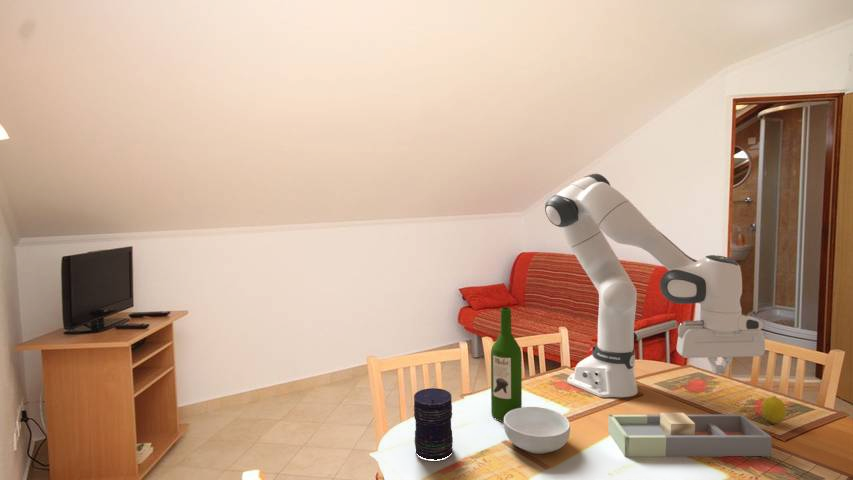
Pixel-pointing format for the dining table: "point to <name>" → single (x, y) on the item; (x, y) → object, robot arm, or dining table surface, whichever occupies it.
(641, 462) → the dining table surface
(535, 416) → the cereal bowl
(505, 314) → the wine bottle
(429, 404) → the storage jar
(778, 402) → the lemon
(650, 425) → the tray
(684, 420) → the block
